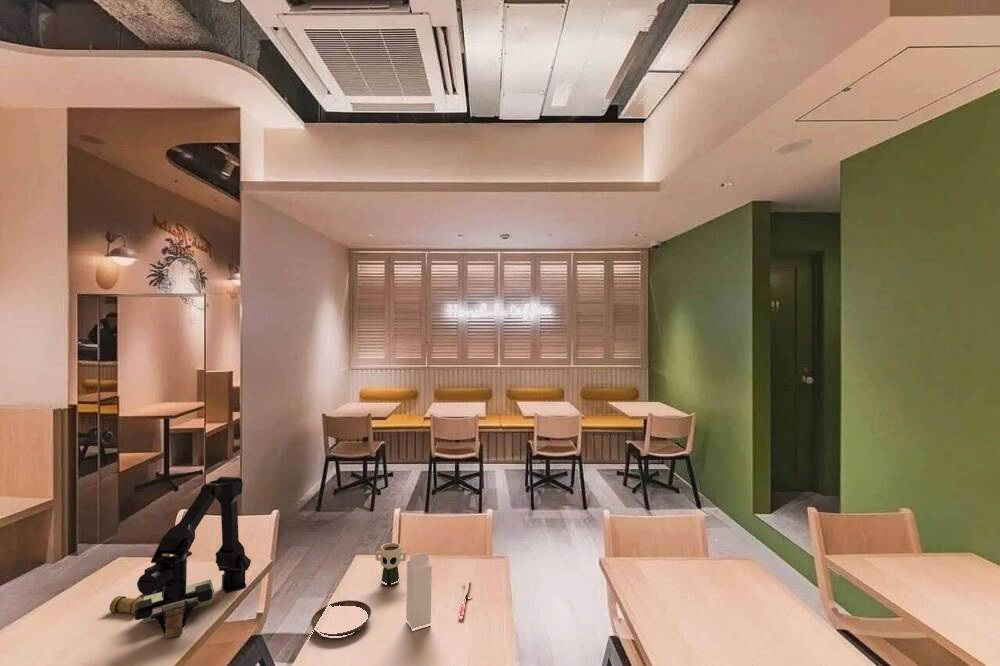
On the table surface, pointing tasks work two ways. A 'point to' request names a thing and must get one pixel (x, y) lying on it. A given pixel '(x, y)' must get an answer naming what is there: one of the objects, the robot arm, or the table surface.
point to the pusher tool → (174, 622)
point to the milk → (419, 590)
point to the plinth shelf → (189, 588)
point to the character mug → (390, 561)
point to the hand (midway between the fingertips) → (173, 629)
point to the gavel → (126, 603)
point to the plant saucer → (342, 603)
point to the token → (164, 618)
